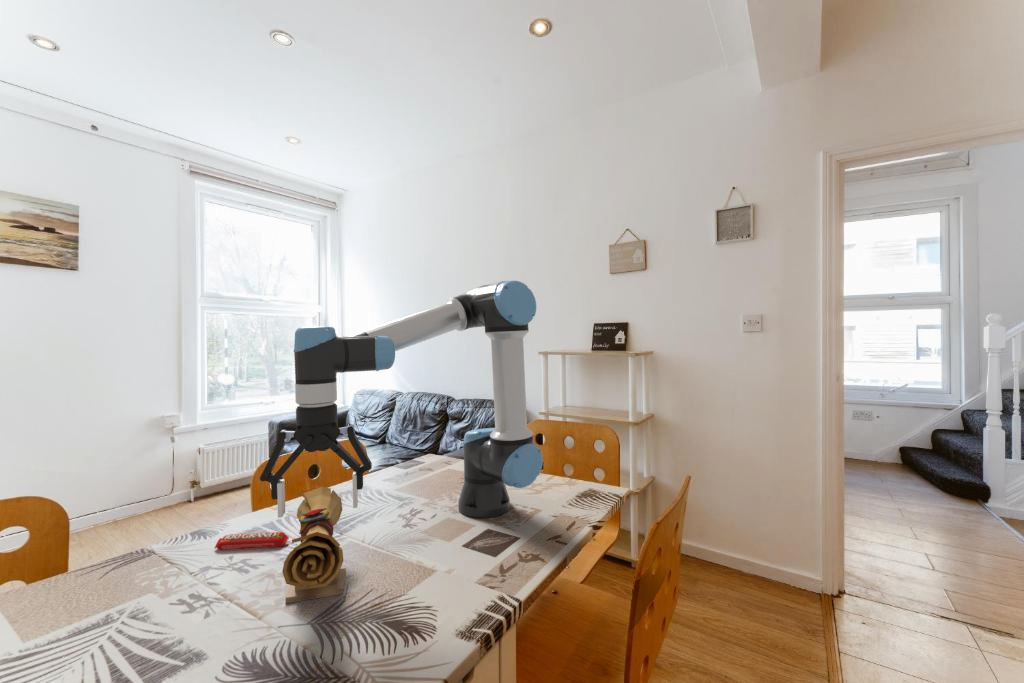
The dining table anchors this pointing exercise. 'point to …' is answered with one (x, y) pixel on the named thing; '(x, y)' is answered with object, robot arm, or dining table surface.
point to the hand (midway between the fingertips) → (319, 510)
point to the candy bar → (252, 541)
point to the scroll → (315, 541)
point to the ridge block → (317, 589)
